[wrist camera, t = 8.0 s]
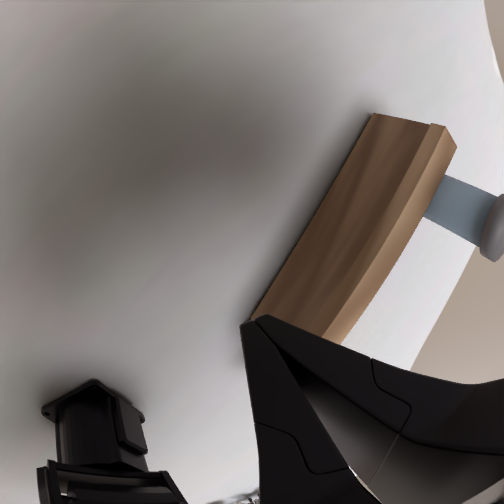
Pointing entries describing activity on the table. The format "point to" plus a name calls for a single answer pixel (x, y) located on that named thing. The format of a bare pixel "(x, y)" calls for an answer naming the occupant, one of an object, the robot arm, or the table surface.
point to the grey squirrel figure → (251, 501)
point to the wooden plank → (360, 226)
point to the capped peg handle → (470, 215)
